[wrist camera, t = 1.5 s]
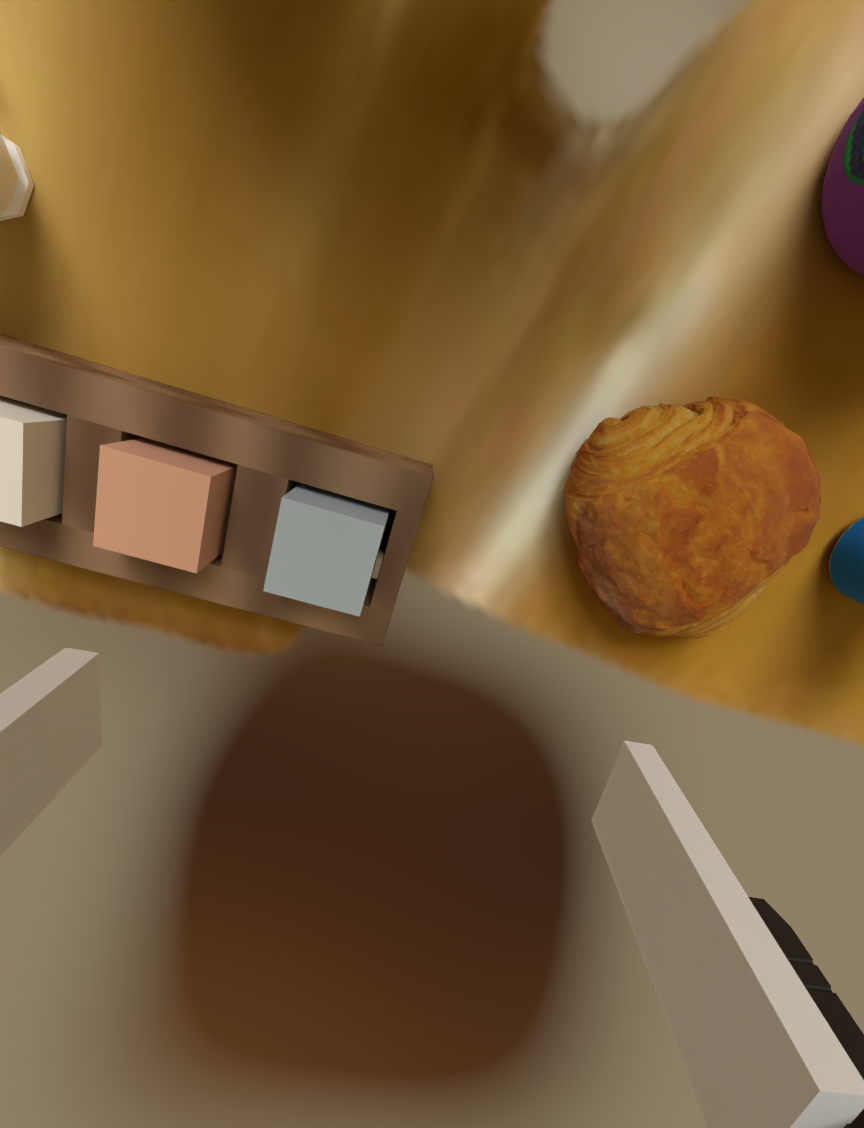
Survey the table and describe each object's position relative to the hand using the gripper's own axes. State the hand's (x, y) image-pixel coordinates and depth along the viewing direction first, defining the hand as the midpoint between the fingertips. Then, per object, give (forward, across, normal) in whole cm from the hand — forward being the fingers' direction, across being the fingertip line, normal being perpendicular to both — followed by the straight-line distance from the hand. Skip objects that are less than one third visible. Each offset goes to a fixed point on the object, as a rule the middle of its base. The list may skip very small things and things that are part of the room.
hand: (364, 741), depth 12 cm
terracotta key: (+19, -13, 0) cm, 23 cm away
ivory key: (+19, -22, +1) cm, 29 cm away
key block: (+21, -13, 0) cm, 25 cm away
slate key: (+19, -4, -1) cm, 19 cm away
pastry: (+22, +17, +4) cm, 28 cm away
